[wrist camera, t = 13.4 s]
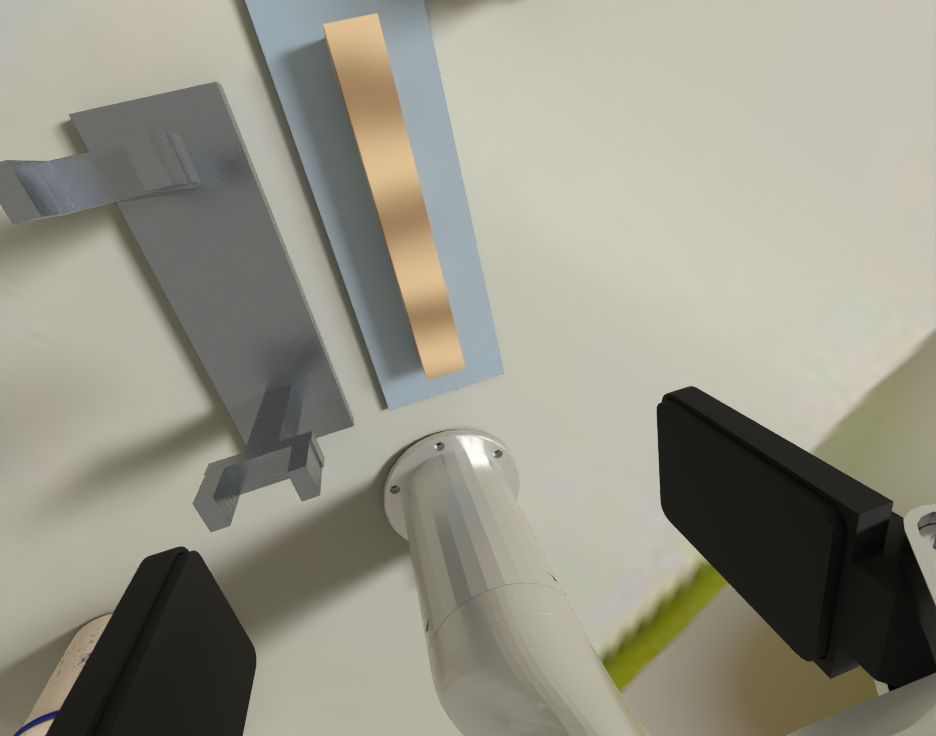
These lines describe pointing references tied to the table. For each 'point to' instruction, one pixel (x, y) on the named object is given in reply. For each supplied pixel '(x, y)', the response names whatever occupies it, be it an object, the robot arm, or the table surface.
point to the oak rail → (394, 187)
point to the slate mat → (347, 192)
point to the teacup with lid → (63, 678)
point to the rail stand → (206, 274)
